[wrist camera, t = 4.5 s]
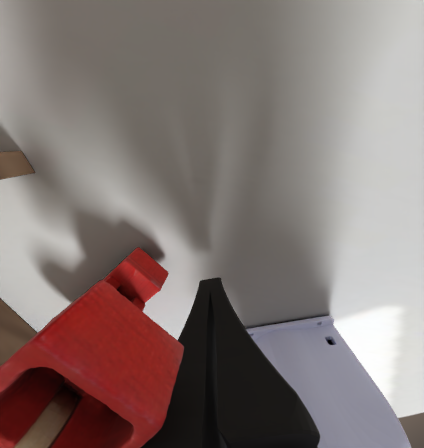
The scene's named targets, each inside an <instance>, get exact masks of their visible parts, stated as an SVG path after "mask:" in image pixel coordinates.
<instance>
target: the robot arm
mask: <svg viewBox="0 0 424 448" xmlns="http://www.w3.org/2000/svg"><path fill="white" fill-rule="evenodd" d="M333 323H334V319H333V318H332V317H331V316H323V317H317V318H311V319H305V320H298V321H292V322H286V323H280V324H274V325H268V326H262V327H255V328H249V329H245V327H244V326H243V324H242V323H241V321H240V319H239V318H238V316H237V314H236V313H235V311H234V309H233V307H232V305H231V303H230V301H229V300H228V297H227V295H226V293H225V291H224V288H223V285H222V281H221V278H219V277H218V278H212V279H207V280H201V281H200V283H199V287H198V291H197V295H196V298H195V301H194V304H193V306H192V309H191V312H190V314H189V317H188V319H187V321H186V324H185V326H184V328H183V330H182V333H181V335H180V337H179V339H178V342H180V343H181V344H182V345H183V346H184V351H183V357H182V361H181V363H180V365H179V370H178V373H177V377H176V382H175V384H174V387H173V391H172V395H171V400H170V404H169V406H168V410H167V415H166V418H165V421H164V423H163V425H162V428H161V429H160V430H159V431H158V432H157V433H156V434H155V435H154V436H153V437H152V438H151V439H150V440H148V441H147V442H146V443H145V444H144V445H143V446H142V447H141V448H411V445H410V443H409V440H408V438H407V436H406V434H405V432H404V429H403V427H402V425H401V423H400V422H399V420H398V418H397V416H396V414H395V413H394V411H393V409H392V408H391V406H390V404H389V403H388V401H387V400H386V398H385V397H384V395H383V394H382V392H381V391H380V390H379V388H378V387H377V385H376V384H375V383H374V381H373V380H372V378H371V377H370V376H369V374H368V373H367V372H366V370H365V369H364V367H363V366H362V365H361V363H360V362H359V360H358V359H357V358H356V356H355V355H354V353H353V352H352V351H351V349H350V348H349V346H348V345H347V344H346V342H345V341H344V339H343V338H342V337H341V335H340V334H339V332H338V331H337V330H336V328H335V327H334V325H333Z"/></svg>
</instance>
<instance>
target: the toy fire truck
mask: <svg viewBox="0 0 424 448" xmlns="http://www.w3.org/2000/svg"><path fill="white" fill-rule="evenodd" d="M167 276H168V272H167V271H166V270H165V269H164V268H163V267H162V266H160V265H159V264H158V263H157V262H156V261H155V260H153V259H152V258H151V257H150V256H149V255H148V254H147V253H145V252H144V251H143V250H142V249H141V248H139V247H138V248H136V249H135V250H134V251H133V252H132V253H131V254H130V255H129V256H127V257H126V258H125V259H124V260H123V261H122V262H121V263H120V264H119V265H118V266H117V267H116V268H115V269H113V270H112V271H111V272H110V273H109V274H108V275H107V276H106V277H105V278H104V279H103V280H100V281H98V282H97V283H96V284H95V285H93V286H92V287H91V288H90V289H89V290H88V291H87V292H86V293H84V294H83V295H82V296H80V297H79V298H78V299H76V300H75V301H74V302H73V303H71V304H70V305H69V306H68V307H67V308H65V309H64V310H63V311H62V312H61V313H60V314H58V315H57V316H56V317H54V318H53V319H52V320H51V321H50V322H49V323H48V324H47V325H46V326H45V327H44V328H43V329H42V330H41V331H39V332H38V333H37V334H36V335H35V336H34V337H32V338H31V339H30V340H29V341H28V342H27V343H26V344H25V345H24V346H22V347H21V348H20V349H19V350H18V351H17V352H16V353H14V354H13V355H12V356H11V357H10V358H9V359H8V360H7V361H6V362H5V363H4V364H2V365H1V366H0V448H141V447H142V446H143V445H144V444H145V443H146V442H147V441H148V440H150V439H151V438H152V437H153V436H154V435H155V434H156V433H157V432H158V431H159V430H160V429H161V428H162V425H163V423H164V421H165V418H166V415H167V410H168V406H169V404H170V400H171V395H172V391H173V387H174V384H175V382H176V377H177V373H178V370H179V365H180V363H181V361H182V357H183V351H184V346H183V345H182V344H181V343H180V342H178V341H177V340H176V339H175V338H174V337H172V336H171V335H170V334H168V332H166V331H165V330H164V329H163V328H161V327H160V326H159V325H158V324H156V323H155V322H154V321H153V320H151V319H150V318H149V317H148V316H147V315H146V314H144V313H143V312H142V311H143V309H144V307H145V302H146V301H148V300H149V299H150V298H151V297H152V296H153V295H155V294H156V293H157V292H159V291H160V290H161V288H162V286H163V284H164V282H165V280H166V278H167Z"/></svg>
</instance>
